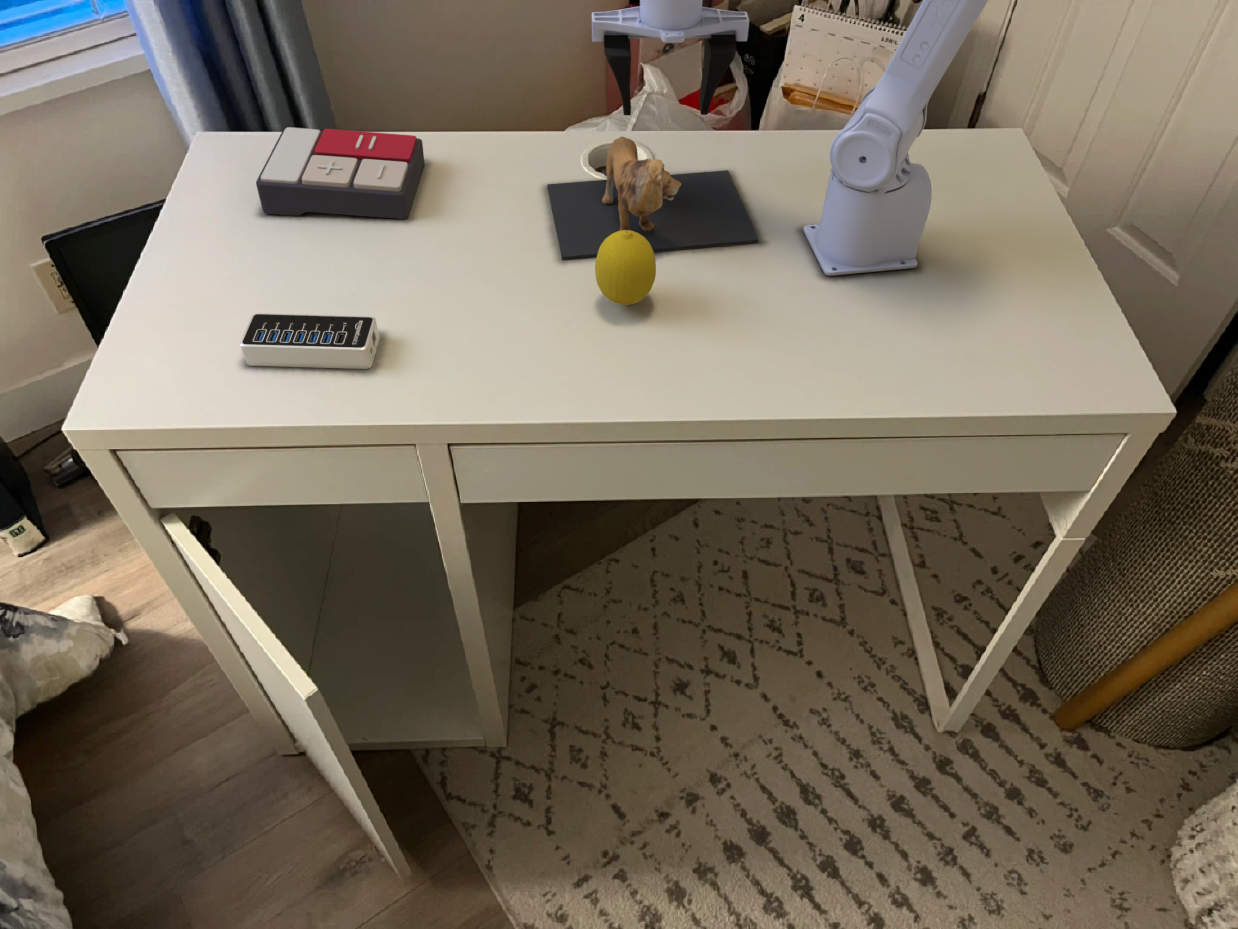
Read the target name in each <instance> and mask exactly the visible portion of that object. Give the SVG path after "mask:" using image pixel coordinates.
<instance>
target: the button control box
mask: <svg viewBox="0 0 1238 929" xmlns="http://www.w3.org/2000/svg"><path fill="white" fill-rule="evenodd" d="M424 166H425V156H424V145H423V139H421V138H418V137H417V136H416V135H412V134H398V133H388V132H387V133H385V132H373V131H359V130H349V129H348V130H347V129H338V128H337V129H335V128H324V129H323V130H320V129H316V128H315V129H314V128H304V127H291V126H290V127H289V126H288V127H285V128H283V129H282V131H281V133H280V135H279V137H278V138H277V140H276V143H275V144H274V146H273V148H272V150H271V152H270V154H269V156H268V158H267V160H266V162H265V163H264V166H263V168H262V170H261V171H260V173H259V175H258V177H257V179H256V181H255V185H256V189H257V193H258V197H259V201H260V205H261V209H262V212H263V213H264V214H267V215H268V214H270V215H281V216H295V217H299V216H301V215H303V214H305V213H321V214H333V215H346V216H358V217H359V216H360V217H372V218H386V219H399V220H405V219H407V218H408V217H409V214H410V211H411V208H412V204H413V202H414V199H415V195H416V192H417V190H418V189H417V188H418V186H419V183H420V179H421V177H422V173H423V170H424Z"/></svg>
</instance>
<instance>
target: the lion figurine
mask: <svg viewBox="0 0 1238 929" xmlns="http://www.w3.org/2000/svg"><path fill="white" fill-rule="evenodd" d="M606 155H607V156H606V165H605V167H606V169H605V170H604V169H603V170H602V174H603V175H604V176H605V177H606V180H607V183H606V191H605V195H604V197H603V199H602V202H603V203H604V204H611V203H612V202H613V194H612V193H613V186H614V182H613V180H614V181H615V185H616V188H617V190H618V200H619V205H618V210H619V219H620V230H619V231H622V230H630V231H631V228H630V225H629V213H630V212H632V214H633V215H635V216H636V217H639V216H640V221H639V224H640V226H641V228H642V229H643V230H644V231H650V230H652V229H653V227H654V225H653V224H652V223H650V222H649V214H651V213H652V212H654V211H656V210H658V209H659V208H660V207H661V206H662V203H663V198H666V199H668V200H673V198H674V195H675V194H676V193H677V192H678V190H679V187H680V186H681V183H680V182H679V181H677V180H675V179H674V178H672V177H671V176H670V175H671V174H670V172H669V171H667V170H665V164H664V162H663V161H662V160H661V159H657V158H656V159H652V158H651V157H650V158H645V159H640V160H639V156H638V155H639V154H638V147H637V144H636V142H635V141H634V140H632V139H631V138H629V137H625V136H620V137H618V138H616V139H614V140H613V141H612V142H611V143H610V146H609V148H608V151H607V154H606Z"/></svg>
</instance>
